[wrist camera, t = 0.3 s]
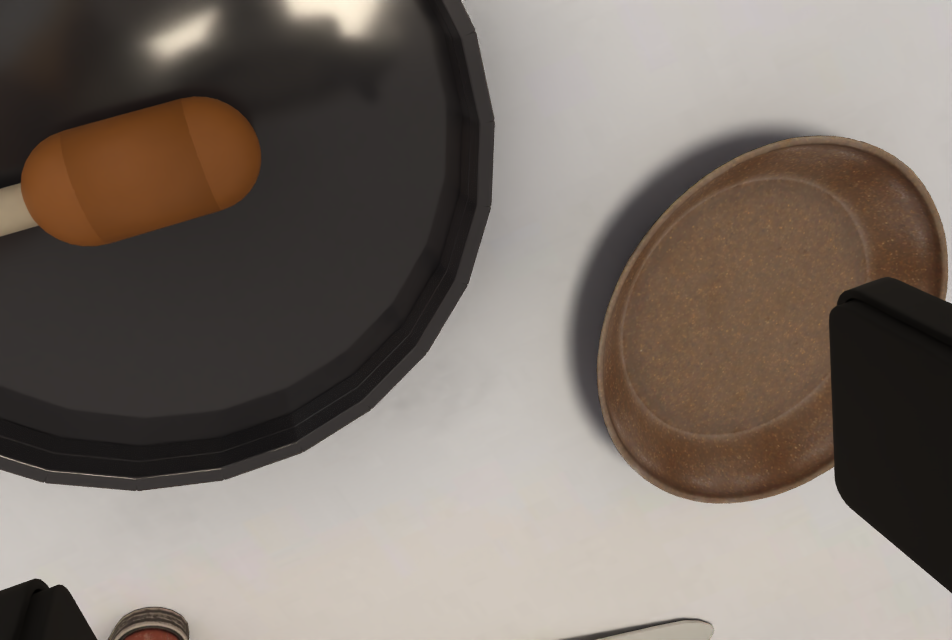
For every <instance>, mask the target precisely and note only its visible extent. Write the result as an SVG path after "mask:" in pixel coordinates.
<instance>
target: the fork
mask: <svg viewBox="0 0 952 640" xmlns="http://www.w3.org/2000/svg"><path fill="white" fill-rule="evenodd" d="M713 632H714V627H713V626H712V625H711V624H708V623H706V622H703V621H700V620H683V621H678V622H673V623H668V624H663V625H658V626H653V627H649V628H645V629H640V630H636V631H631V632H627V633H623V634H618V635H614V636H610V637H605V638H601V639H596V640H710V638H711V637H712V635H713Z"/></svg>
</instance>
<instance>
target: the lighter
mask: <svg viewBox="0 0 952 640" xmlns="http://www.w3.org/2000/svg"><path fill="white" fill-rule="evenodd" d="M108 640H189V628H188V623H187V622H186V621H185V619H184V618H183V617H182V616H181V615H179V614H177V613H176V612H174V611H172V610H168V609H164V608H144V609H140V610H136V611H133V612H131V613H130V614H128V615H126V616H124V617H123V618H122V619H121V620H120V621H119V623H118V624H117V625H116V627H115V629H114V630H113V632H112V634H111V636H110V637H109V639H108Z"/></svg>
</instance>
